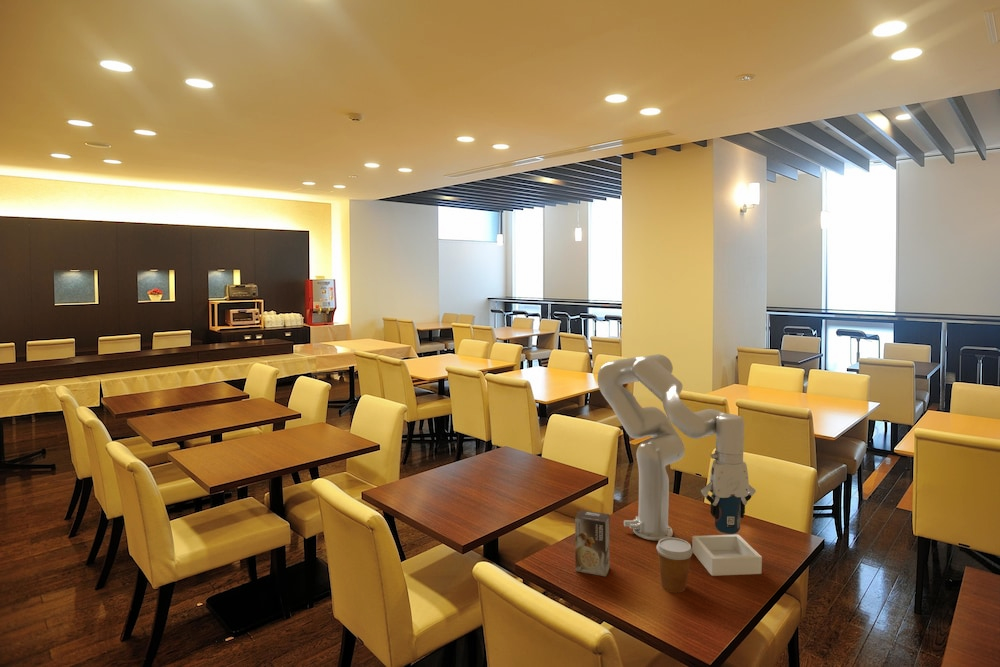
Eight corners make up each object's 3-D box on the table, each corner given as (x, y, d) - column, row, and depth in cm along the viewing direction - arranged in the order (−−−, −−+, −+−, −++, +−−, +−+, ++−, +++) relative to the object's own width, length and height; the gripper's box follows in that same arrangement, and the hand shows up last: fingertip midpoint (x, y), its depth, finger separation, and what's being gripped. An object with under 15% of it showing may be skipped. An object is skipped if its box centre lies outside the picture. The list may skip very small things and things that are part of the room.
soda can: (712, 524, 176) (713, 486, 175) (736, 525, 175) (737, 486, 174) (717, 534, 169) (718, 494, 168) (742, 536, 168) (744, 495, 167)
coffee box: (610, 566, 171) (611, 513, 169) (605, 577, 165) (606, 522, 163) (579, 561, 174) (579, 509, 173) (574, 571, 168) (574, 517, 167)
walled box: (711, 575, 166) (712, 558, 165) (692, 551, 180) (692, 535, 179) (761, 573, 166) (762, 557, 166) (737, 549, 181) (738, 534, 180)
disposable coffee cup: (686, 599, 154) (687, 556, 152) (650, 589, 159) (651, 547, 157) (695, 583, 162) (696, 541, 160) (661, 574, 167) (662, 533, 165)
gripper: (705, 462, 166) (703, 523, 167) (764, 460, 167) (762, 520, 168) (694, 454, 173) (693, 512, 175) (752, 452, 174) (750, 510, 176)
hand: (727, 516), depth 172 cm, fingers closed on soda can, 6 cm apart
